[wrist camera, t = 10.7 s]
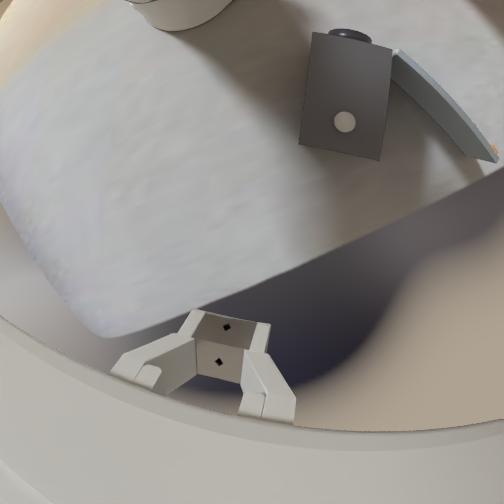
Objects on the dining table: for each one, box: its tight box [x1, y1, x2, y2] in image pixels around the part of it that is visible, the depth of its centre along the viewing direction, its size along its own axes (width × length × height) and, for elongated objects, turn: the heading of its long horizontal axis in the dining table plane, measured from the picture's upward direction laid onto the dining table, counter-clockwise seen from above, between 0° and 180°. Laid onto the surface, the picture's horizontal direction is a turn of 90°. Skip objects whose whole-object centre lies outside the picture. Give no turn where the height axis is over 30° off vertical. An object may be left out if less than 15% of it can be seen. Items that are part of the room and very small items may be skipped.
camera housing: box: [299, 29, 392, 161], centre depth 26 cm, size 14×8×9 cm, turn 172°
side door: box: [391, 49, 499, 163], centre depth 24 cm, size 16×2×8 cm, turn 54°
